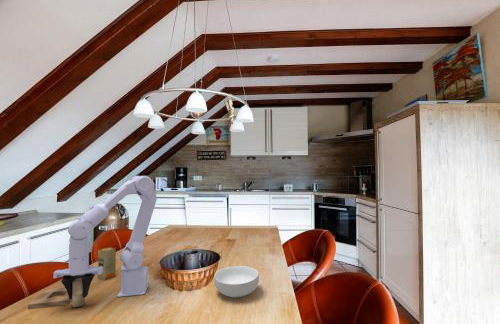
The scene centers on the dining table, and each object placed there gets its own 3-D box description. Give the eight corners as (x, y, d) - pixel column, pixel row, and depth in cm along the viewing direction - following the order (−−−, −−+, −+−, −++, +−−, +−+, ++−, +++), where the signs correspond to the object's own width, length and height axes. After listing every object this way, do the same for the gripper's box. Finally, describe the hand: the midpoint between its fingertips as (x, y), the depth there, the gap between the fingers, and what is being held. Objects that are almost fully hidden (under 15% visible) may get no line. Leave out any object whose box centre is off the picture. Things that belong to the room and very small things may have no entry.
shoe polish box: (104, 280, 110) (104, 251, 110) (97, 278, 112) (98, 250, 113) (115, 276, 114) (115, 248, 114) (109, 274, 116) (109, 247, 117)
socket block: (83, 289, 101) (83, 285, 101) (68, 304, 89) (68, 300, 89) (48, 292, 99) (48, 288, 99) (27, 309, 87) (27, 304, 87)
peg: (86, 301, 90) (86, 277, 91) (82, 306, 87) (82, 281, 87) (75, 302, 90) (75, 278, 90) (70, 307, 86) (70, 283, 86)
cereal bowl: (218, 283, 106) (217, 265, 106) (258, 283, 105) (258, 265, 105) (210, 304, 89) (210, 283, 89) (259, 304, 88) (258, 283, 89)
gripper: (106, 251, 94) (106, 289, 94) (61, 254, 91) (60, 293, 91) (98, 257, 87) (98, 298, 87) (50, 261, 84) (49, 303, 84)
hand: (78, 296), depth 88 cm, fingers closed on peg, 4 cm apart
